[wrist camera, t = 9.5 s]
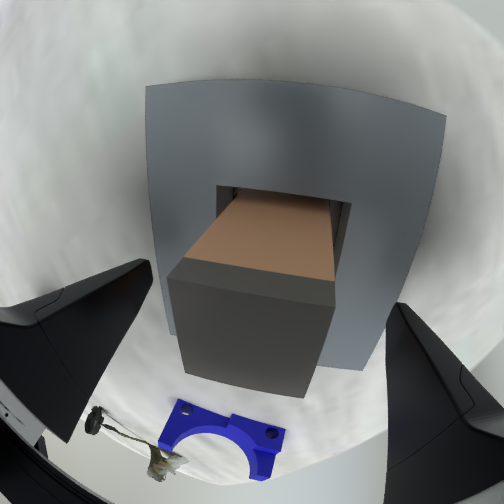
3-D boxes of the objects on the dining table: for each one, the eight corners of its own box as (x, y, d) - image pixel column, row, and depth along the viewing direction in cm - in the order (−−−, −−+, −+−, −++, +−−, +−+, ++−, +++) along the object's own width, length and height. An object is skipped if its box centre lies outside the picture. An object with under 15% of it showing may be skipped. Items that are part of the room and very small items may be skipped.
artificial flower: (106, 398, 38) (92, 443, 29) (196, 446, 46) (194, 485, 37) (87, 408, 40) (74, 447, 31) (170, 453, 48) (167, 488, 39)
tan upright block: (316, 267, 15) (303, 398, 8) (243, 256, 15) (185, 372, 8) (328, 196, 13) (335, 307, 6) (246, 186, 13) (166, 277, 6)
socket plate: (360, 341, 16) (362, 370, 14) (185, 309, 18) (170, 334, 16) (423, 113, 9) (446, 115, 7) (173, 87, 11) (145, 86, 9)
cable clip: (285, 427, 25) (275, 475, 20) (272, 439, 27) (261, 481, 22) (179, 391, 25) (157, 437, 20) (177, 406, 28) (158, 447, 23)
